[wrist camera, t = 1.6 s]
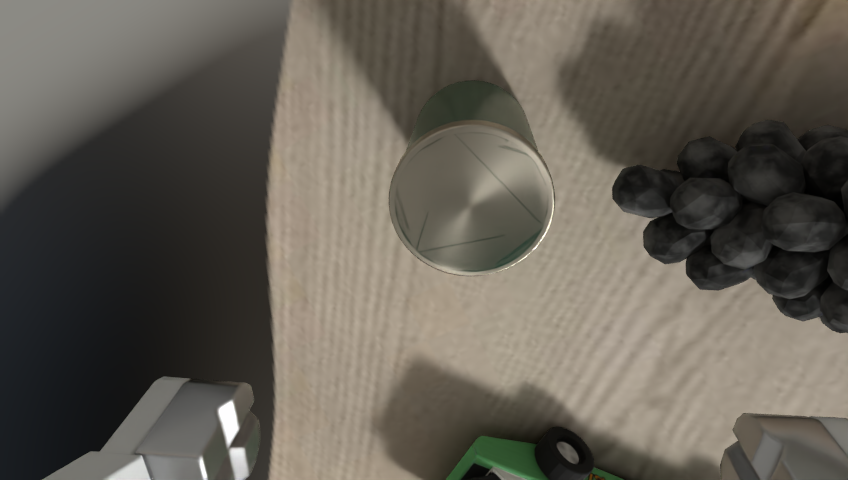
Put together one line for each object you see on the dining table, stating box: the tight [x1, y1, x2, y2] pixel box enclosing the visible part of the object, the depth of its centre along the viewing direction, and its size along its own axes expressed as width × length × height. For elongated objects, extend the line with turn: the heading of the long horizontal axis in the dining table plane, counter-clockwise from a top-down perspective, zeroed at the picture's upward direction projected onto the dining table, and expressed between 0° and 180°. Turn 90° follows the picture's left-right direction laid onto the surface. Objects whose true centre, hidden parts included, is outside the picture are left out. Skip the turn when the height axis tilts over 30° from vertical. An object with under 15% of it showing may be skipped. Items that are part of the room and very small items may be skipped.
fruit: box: [612, 120, 848, 333], centre depth 18 cm, size 9×8×15 cm
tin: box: [389, 80, 555, 276], centre depth 19 cm, size 5×5×7 cm
